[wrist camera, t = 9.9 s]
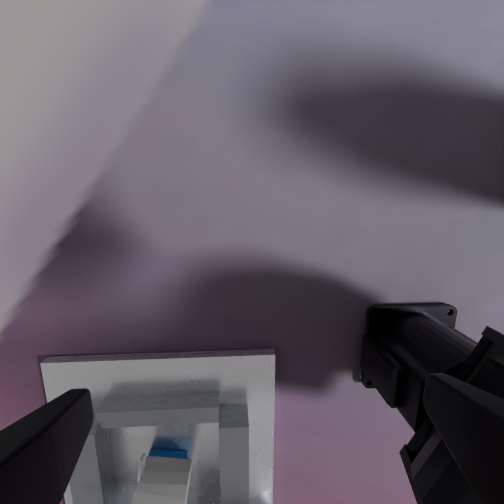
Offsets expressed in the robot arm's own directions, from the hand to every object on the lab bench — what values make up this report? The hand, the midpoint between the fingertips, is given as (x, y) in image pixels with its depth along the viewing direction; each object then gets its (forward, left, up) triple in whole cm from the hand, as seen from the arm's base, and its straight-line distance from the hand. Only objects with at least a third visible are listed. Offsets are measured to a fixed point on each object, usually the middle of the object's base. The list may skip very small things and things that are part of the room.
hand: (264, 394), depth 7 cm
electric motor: (+7, +15, -11) cm, 20 cm away
